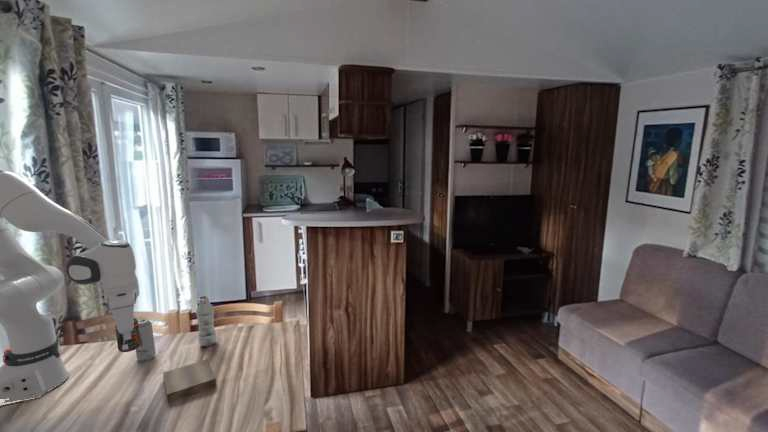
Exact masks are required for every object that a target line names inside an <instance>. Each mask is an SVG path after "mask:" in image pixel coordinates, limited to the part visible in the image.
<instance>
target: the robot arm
mask: <svg viewBox="0 0 768 432" xmlns="http://www.w3.org/2000/svg"><path fill="white" fill-rule="evenodd" d="M1 216H2V218H1ZM3 219H5V220H6V221H7V222H8V223H9V224H10V225H12V226H13V227H15V228H17V229H19V230H21V231H23V232H29V233H55V234H61V235H62V234H63V235H65V236H70V237H72V238H73V239H74V240H76V241H77V242H79V244H81V245H82V246H84V247H85V248H87V249H88V250H86V251H83V252H80V253H77V254H75V255H73V256H71V257H69V259H68V260H67V261H66V265H65V272H66V275H67V277H68V278H69V279H70V281H71V282H73V283H74V284H77V285H82V286H83V285H91V284H96V283H101V284H102V291H103V297H104V302H105V303H106V304H107V305H108V308H109V310H111V313H112V315H113V318H114V319H113V320H114V322H115V324H116V327H117V330H118V332H119V333H123V335H124V340H129V339H131V331H132V330H133V328H134V318H135V304H137V299H138V297H140V288H139V287H140V286H139V280H138V279H139V278H138V276H137V275H136V268H137V264H136V258H135V253H134V250H133V248H132V246H131V244H130V243H129V242H128V241H126V240H124V239H111V238H110V237H108V236H107V235H105V233H103V232H101V231H100V230H99V229H98V228H96V227H95V226H94V225H92V224H91V223H89V221H87V220H86V219H84V218H83V217H81V216H80V215H79V214H77V213H75V212H73V211H71V210H69V209H67V208H64V206H63V207H62V206H60V205H59V204H58V203H56V202H54V201H53V200H52V199H50V198H49V197H48V196H46V195H45V194H44V193H43V192H42V191H40V190H39V189H38V188H37V187H36V186H35V185H33V184H32V183H31V182H29V181H28V180H26V179H25V178H23V177H22V176H20V175H19V174H18V173H16V172H14V171H12V170H6V169H5V170H4V169H3V170H0V276H1V277H2V278H3V279H1V280H0V324H1V326H2V327H3V329H4V330H5V333H6V335H7V336H6V337H7V340H8V344H9V347H7V348H5V350H4V351H3V356H2V357H3V358H2V362H3V364H2V365H1V366H0V399H7V398H9V400H5V402H6V403H7V402H13V401H17V400H24V399H30V398H37V397H39V396H41V397H43V396H44V395H46V394H47V393H48V392H49V391H48V390H50V389H52V388H54V387H55V386H57V385H59V384H61V383H62V382H64V381H65V380H66V379H67V377H68V375H69V376H70V373H69V371H67V369H66V366H65V364H64V362H63V360H62V357H61V353H62V351H61V346H60V342H59V339H58V338H57V335H56V329H55V324H54V320H53V318H52V317H51V316H49V315H46V314H42V313H40V311H39V309H38V307H37V304H38V303H40V302H42V301H43V300H46V299H47V298H50V297H52V296H53V295H54V294H55V293H57V292H59V290H60V289H61V288H62V287H63V285H64V284H65V276H64V273H63V272H62V271H61V270H60V269H59V268H57V267H55V266H53V265H48V264H45V263H42V262H41V261H39V260H37V258H35V257H33V256H32V255H31V254H30V253H28V251H26V250H25V249H24V247H22V245H21V244H20V242H19V241H18V240H17V238H16V237H15V236H14V234H13V233H12V231H11V230H10V228H9V227H8V226H7V224H6V223H5V222H4V220H3ZM68 378H69V377H68ZM67 380H68V379H67ZM67 380H66V381H67ZM66 381H65V382H66ZM65 382H64V383H65ZM62 384H63V383H62ZM62 384H61V385H62ZM59 386H60V385H59ZM54 389H55V388H54ZM52 390H53V389H52ZM47 391H48V392H47ZM50 391H51V390H50ZM46 392H47V393H46ZM45 393H46V394H45ZM43 394H44V395H43ZM33 395H34V396H33ZM42 395H43V396H42ZM37 399H38V398H37ZM5 402H4V403H5Z"/></svg>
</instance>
